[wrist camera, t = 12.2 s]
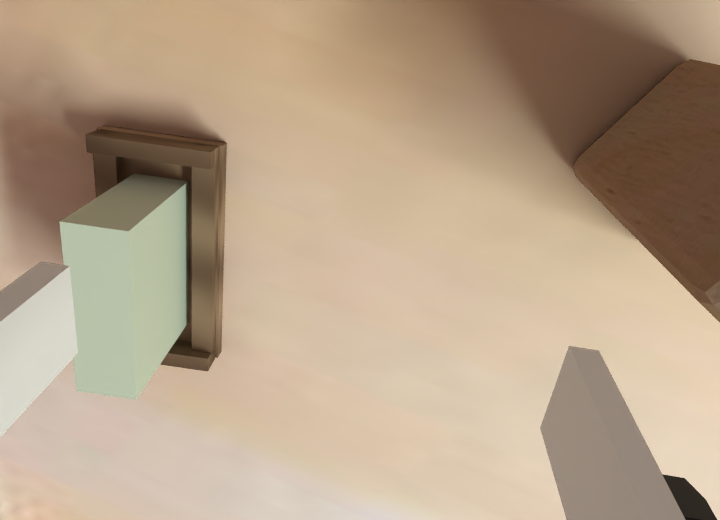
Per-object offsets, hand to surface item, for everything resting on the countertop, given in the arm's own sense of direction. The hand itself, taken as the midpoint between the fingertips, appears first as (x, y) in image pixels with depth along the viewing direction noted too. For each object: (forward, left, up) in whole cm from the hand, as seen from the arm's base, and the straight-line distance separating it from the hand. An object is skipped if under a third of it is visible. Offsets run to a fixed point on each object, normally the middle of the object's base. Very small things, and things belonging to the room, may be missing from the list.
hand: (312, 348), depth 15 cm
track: (+11, -15, -28) cm, 33 cm away
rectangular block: (+11, -15, -27) cm, 32 cm away
